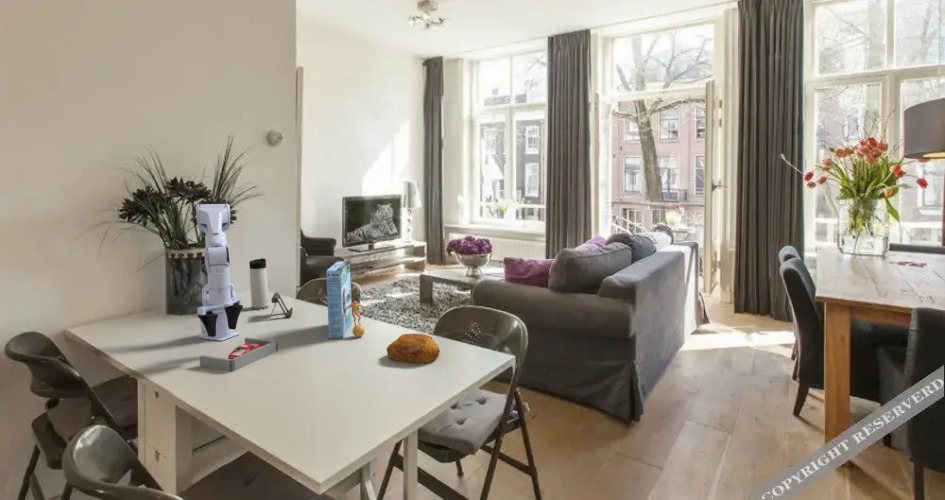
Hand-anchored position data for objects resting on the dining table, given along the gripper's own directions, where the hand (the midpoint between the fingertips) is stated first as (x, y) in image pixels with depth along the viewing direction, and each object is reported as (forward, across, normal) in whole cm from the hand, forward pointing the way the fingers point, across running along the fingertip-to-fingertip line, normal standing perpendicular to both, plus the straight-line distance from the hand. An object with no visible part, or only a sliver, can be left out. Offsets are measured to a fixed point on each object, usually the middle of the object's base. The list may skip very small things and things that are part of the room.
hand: (222, 332), depth 149 cm
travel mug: (+8, +49, +30) cm, 58 cm away
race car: (+8, +1, -7) cm, 10 cm away
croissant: (+7, +19, -54) cm, 58 cm away
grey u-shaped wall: (+7, 0, -6) cm, 9 cm away
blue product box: (+7, +34, -18) cm, 39 cm away
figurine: (+7, +30, -27) cm, 41 cm away
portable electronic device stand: (+8, +42, +14) cm, 45 cm away
